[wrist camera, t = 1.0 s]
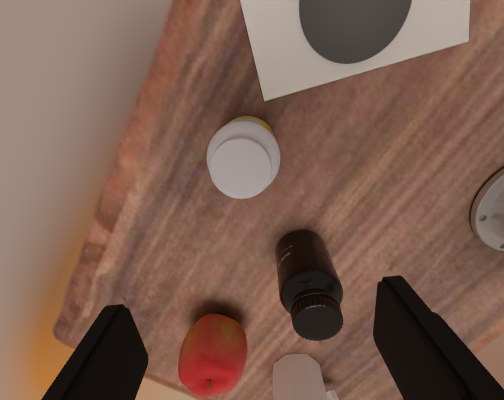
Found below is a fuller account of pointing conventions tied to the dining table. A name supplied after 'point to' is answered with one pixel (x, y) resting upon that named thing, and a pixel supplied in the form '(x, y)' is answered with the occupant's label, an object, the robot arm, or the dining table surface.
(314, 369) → the mug
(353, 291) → the dining table surface
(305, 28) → the pad
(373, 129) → the dining table surface
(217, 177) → the pill bottle
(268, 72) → the board
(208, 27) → the dining table surface
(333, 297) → the supplement bottle
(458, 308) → the dining table surface
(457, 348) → the robot arm
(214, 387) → the apple
